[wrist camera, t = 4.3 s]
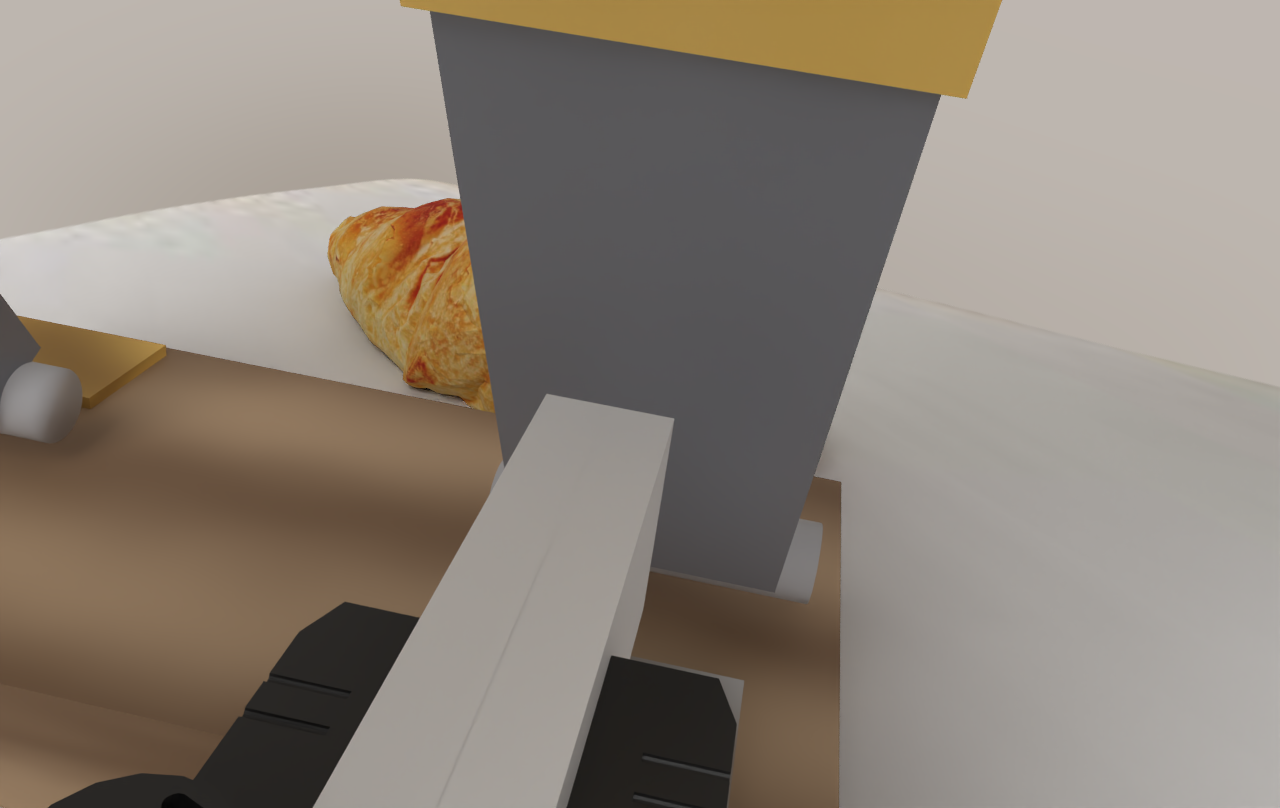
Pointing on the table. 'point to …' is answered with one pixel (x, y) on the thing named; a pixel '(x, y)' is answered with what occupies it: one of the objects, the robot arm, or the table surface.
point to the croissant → (416, 295)
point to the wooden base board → (304, 568)
